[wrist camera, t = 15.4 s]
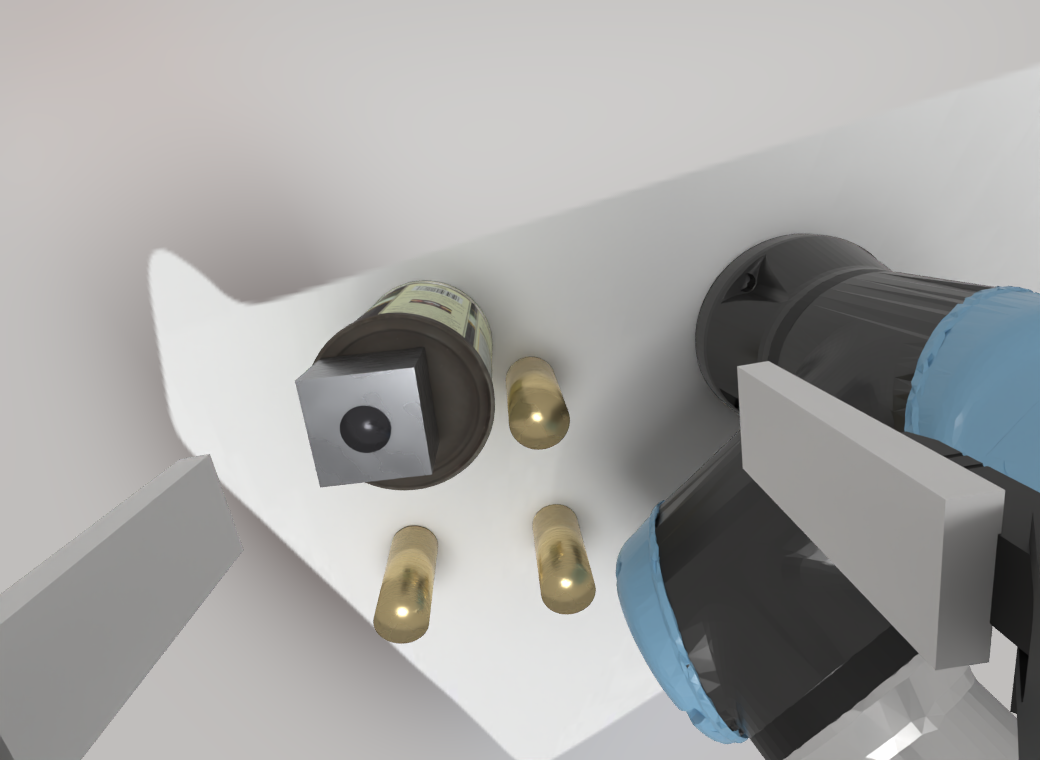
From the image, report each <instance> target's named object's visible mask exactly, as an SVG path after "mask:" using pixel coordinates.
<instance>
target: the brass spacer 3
mask: <svg viewBox="0 0 1040 760" xmlns="http://www.w3.org/2000/svg"><path fill="white" fill-rule="evenodd" d="M533 534H534V542H535V550H536V558H537V565H538V573H539V581H540V589H541V596H542V600H543V602H544V604H545V605H546V606H547V607H548V608H549V609H550V610H552V611H554V612H556V613H559V614H574V613H577V612H580V611H582V610H584V609H585V608H586V607H588V606H589V605H590V603H591V602H592V601H593V599H594V596H595V592H596V588H595V583H594V580H593V576H592V572H591V568H590V565H589V561H588V557H587V554H586V550H585V546H584V543H583V539H582V535H581V532H580V528H579V524H578V521H577V517H576V515H575V513H574V512H573V511H572V510H571V509H570V508H568V507H566V506H564V505H559V504H553V505H549V506H546V507H544V508H542V509H541V510H540V511H539V512H538V513H537V514H536V515H535V517H534V519H533Z"/></svg>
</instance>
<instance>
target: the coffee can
mask: <svg viewBox="0 0 1040 760" xmlns="http://www.w3.org/2000/svg"><path fill="white" fill-rule="evenodd" d="M418 347H424V348H425V354H426V360H427V367H428V373H429V379H430V385H431V392H432V398H433V404H434V410H435V417H436V423H437V429H438V435H439V446H438V451H437V455H436V459H435V464H434V468H433V473H432V475H423V476H415V477H406V478H397V479H388V480H380V481H371V482H365V483H368V484H371V485H373V486H377V487H381V488H385V489H392V490H416V489H423V488H427V487H431V486H434V485H437V484H440V483H443V482H445V481H447V480H449V479H451V478H453V477H454V476H456V475H457V474H459V473H460V472H462V471H463V470H464V469H465V468H466V467H468V466H469V465H470V464H471V463H472V462H473V461H474V459H475V458H476V457H477V456H478V454H479V453H480V452H481V450H482V449H483V447H484V445H485V443H486V441H487V439H488V437H489V434H490V432H491V429H492V425H493V421H494V412H495V398H494V389H493V384H492V336H491V330H490V327H489V325H488V322H487V319H486V317H485V316H484V314H483V312H482V310H481V309H480V308H479V306H478V305H477V304H476V303H475V302H474V301H473V300H472V299H471V298H470V297H469V296H468V295H466V294H465V293H463V292H462V291H460V290H458V289H456V288H454V287H452V286H450V285H447V284H444V283H440V282H434V281H416V282H409V283H406V284H403V285H400V286H398V287H396V288H394V289H392V290H391V291H389V292H388V293H386V294H385V295H384V296H382V297H381V298H380V299H379V300H378V301H377V302H376V304H375V305H374V306H373V307H371V308H370V309H369V310H368V311H367V312H366V313H365V314H364V315H362V316H361V317H360V318H359V319H357V320H356V321H355V322H354V323H352V324H350V325H348V326H347V327H345V328H344V329H342V330H341V331H339V332H338V333H337V334H336V335H334V336H333V337H332V338H331V339H330V340H329V341H328V342H327V343H326V344H325V346H324V347H323V348H322V349H321V351H320V352H319V354H318V356H317V357H316V359H315V361H314V363H313V365H314V364H315V363H316V362H317V361H318V360H319V359H321V358H328V357H337V356H346V355H355V354H364V353H373V352H382V351H391V350H400V349H409V348H418ZM313 365H312V366H313Z"/></svg>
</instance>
